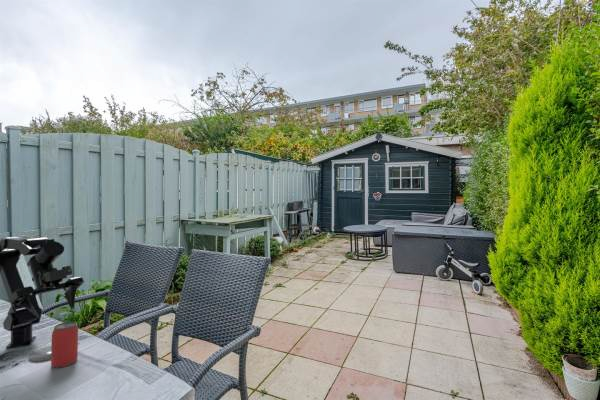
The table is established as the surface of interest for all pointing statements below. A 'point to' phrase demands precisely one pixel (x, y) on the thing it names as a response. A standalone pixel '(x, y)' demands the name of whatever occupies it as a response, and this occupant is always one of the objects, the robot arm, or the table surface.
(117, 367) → the table surface
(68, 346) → the beer can
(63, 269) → the robot arm
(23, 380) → the table surface
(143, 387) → the table surface
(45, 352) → the slate coaster
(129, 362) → the table surface
